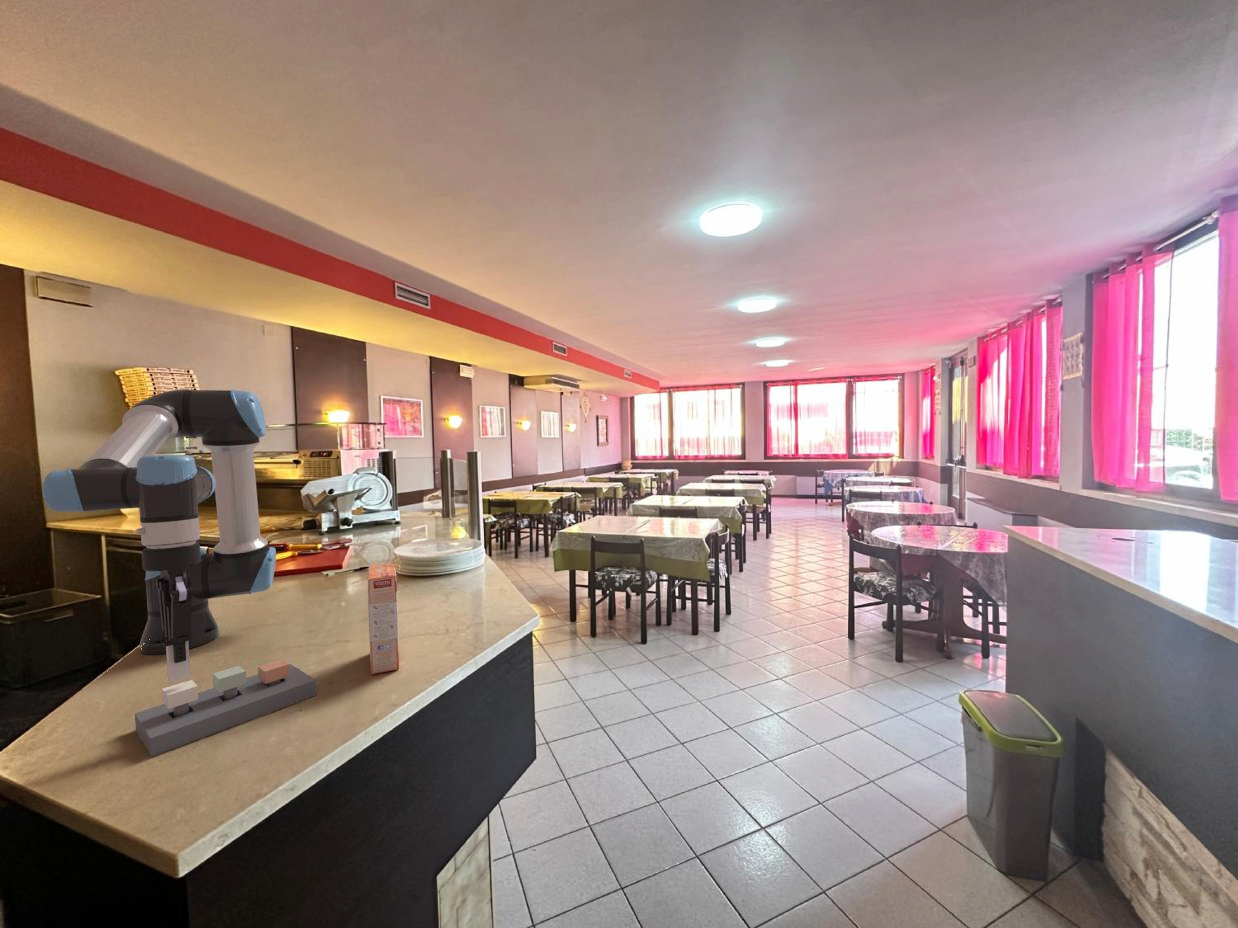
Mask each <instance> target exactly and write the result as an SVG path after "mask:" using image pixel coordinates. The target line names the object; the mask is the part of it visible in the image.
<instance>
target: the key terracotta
mask: <svg viewBox="0 0 1238 928" xmlns="http://www.w3.org/2000/svg"><path fill="white" fill-rule="evenodd" d="M289 664H290V663H287V662H286V661H284V660H283V659H278V660H274V661H271V662H268V663H265V664H261V665H258V666H257V674H258V678H259V679H260V680H261V681H262V682H264V683H265V684H267V683H268V686H270V685H273V684H276V683H279V682H280V679H282V678H285V677H288V676H289Z"/></svg>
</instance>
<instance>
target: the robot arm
mask: <svg viewBox="0 0 1238 928" xmlns="http://www.w3.org/2000/svg"><path fill="white" fill-rule="evenodd" d="M121 423H122V424H121V425H120V426H119V427H118V428H117V429H116V430H115V431H114V433H112V435H110V437H108V438H107V440H106V441H104V443H103V444H102V445H101V446H100V447H98V449H97V450H96V451H95V452H94V453H93V454H92V455H91V456H90V457H89V458H88V459H87V460H86V461H85V462H83V464H82V465H81V466H80V467H79V468H66V469H55V470H52V471H50V472H49V473H48V474H47V475H45V477H44V480H43V482H42V488H41V489H42V497H43V500H44V502H45V505H46V507H48V508H49V509H50V510H51V511H52V512H53V511H54V512H56V513H57V512H58V513H85V512H95V511H97V512H98V511H111V510H112V511H113V510H127V509H138V510H139V521H140V526H141V527H140V528H136V529H135V534H137V535H141V537H140V538H141V539H140V540H141V545H143V546H145V548H143V549H142V551H141V558H142V559H141V560H142V561H141V562H142V563H141V564H142V569H143V570H144V571H145V578H144V581H145V590H146V600H147V601H146V604H147V606H146V607H147V622H146V624H145V627H144V630H143V633H142V635H141V638H140V642H139V650H140V649H141V648H142V650H141V651H140V653H141V654H143V655H162V654H166V668H167V682H169V683H170V684H171V683H175V682H177V681H182V680H185V679H189V678H191V664H190V663H191V662H190V649H192V648H196V647H199V646H203V645H206V644H208V643H210V642H213V641H214V640H215V639H217V638H218V637H219V635H220V633H219V631H220V630H219V625H218V623H217V620H216V619H215V617H214V615H213V614H212V611H211V609H210V607H209V599H217V598H223V597H231V596H242V595H252V594H255V593H259V592H265V591H267V590H268V589H270V588H271V586H272V584H273V580H274V575H275V569H276V562H277V559H276V558H277V552H276V551H277V549H276V548H275V547H272V546H270V547H269V542H268V539H266V538H264V537H263V536H261V527H260V514H259V504H258V503H259V502H258V491H257V481H256V480H257V479H256V470H255V456H254V455H255V454H254V449H255V448H256V447H257V446H258V445H259V444H260V442H261V441H260V438H262V437H264V436H266V434H267V427H266V418H265V413H264V409H263V406H262V404H261V401H260V399H259V397H258V396H257V395H256V394H255V393H253V392H251V391H244V390H234V389H230V390H229V389H226V390H224V389H222V390H221V389H217V390H216V389H211V390H210V389H175V390H174V389H173V390H168V391H163V392H160V393H158V394H155V395H152V396H149V397H147V398H145V399H143V400H141V401H139V402H138V403H136V404H134V405H133V406H131V407H130V408H129V409H128V410H127V411H126V412H125V413H124V414H123V417H122V422H121ZM175 438H201V444H202V446H203V447H205V449H208V450H209V451H210V454H211V464H212V466H211V467H212V472H211V471H210V470H208V469H206V468H205V467H202V466H200V465H199V466H198V465H196V462H195V461H196V460H195V458H194V456H192V455H189V454H188V455H187V454H183V455H182V454H178V455H175V454H174V455H173V454H172V455H171V454H170V455H155V454H156V453H157V452H158V451H159V450H160V448H161V447H162V445H163V444H166V443H168V442H170V441H172V440H173V439H175ZM213 493H214V494H215V503H216V513H217V523H218V524H217V525H218V534H219V541H218V543H216V544H215V545H214V547H213V553H207V551H206V549H205V548H204V547H203V548H202V547H201V545H200V543H199V542H197V541H199V540H200V539H201V533H200V532H201V531H200V530H201V529H200V517H199V513H198V512H199V510H198V507H199V506H198V504H200V503H202V502H204V501H205V500H207V499H209V497H211V496H212V495H213ZM149 639H150V640H149ZM143 643H145V644H144V645H143ZM141 645H142V647H141V648H140V646H141Z"/></svg>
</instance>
